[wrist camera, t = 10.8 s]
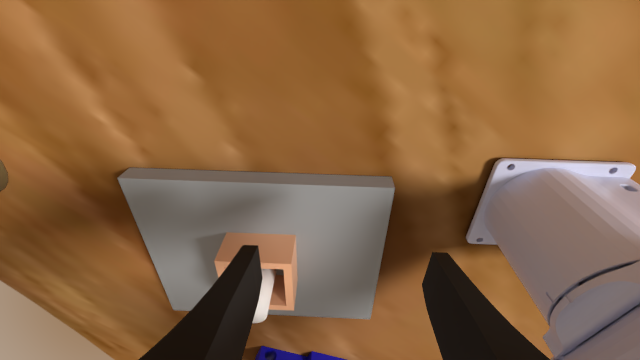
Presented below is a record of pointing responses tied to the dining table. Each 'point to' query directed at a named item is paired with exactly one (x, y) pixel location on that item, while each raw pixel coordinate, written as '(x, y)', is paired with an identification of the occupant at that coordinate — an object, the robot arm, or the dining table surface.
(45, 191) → the dining table surface
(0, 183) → the cork
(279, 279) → the collar
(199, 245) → the post board
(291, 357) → the cable clip
